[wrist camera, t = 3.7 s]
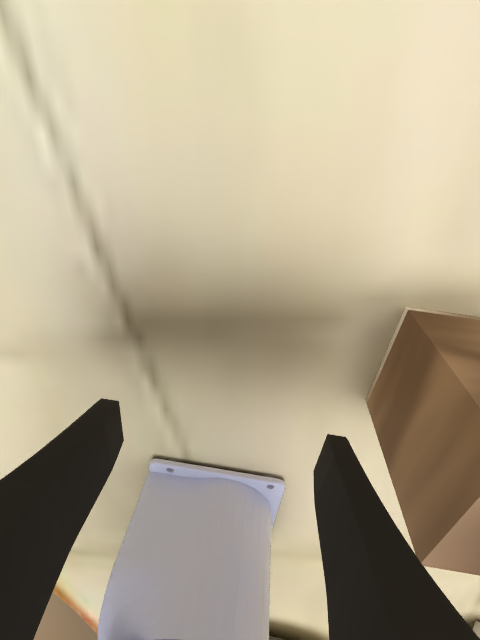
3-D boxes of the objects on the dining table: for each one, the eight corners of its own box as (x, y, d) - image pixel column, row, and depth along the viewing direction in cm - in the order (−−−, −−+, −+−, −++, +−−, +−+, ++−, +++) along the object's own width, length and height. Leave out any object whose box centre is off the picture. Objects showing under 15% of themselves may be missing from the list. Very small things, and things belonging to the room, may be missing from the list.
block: (365, 399, 18) (419, 565, 11) (405, 306, 15) (515, 456, 8) (436, 410, 18) (536, 584, 11) (492, 319, 15) (679, 482, 8)
